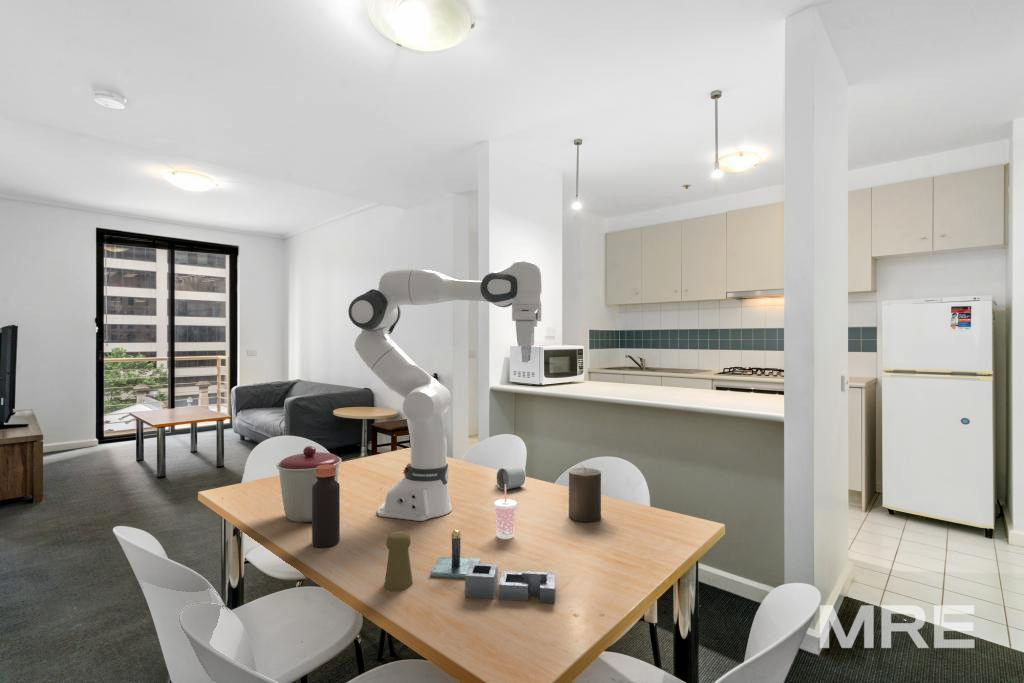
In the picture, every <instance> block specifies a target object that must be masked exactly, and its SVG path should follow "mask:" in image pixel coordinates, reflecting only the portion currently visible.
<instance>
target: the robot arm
mask: <svg viewBox="0 0 1024 683" xmlns="http://www.w3.org/2000/svg"><path fill="white" fill-rule="evenodd" d="M541 273H542V272H541V269H540V267H539V266H538V265H537V264H536V263H535V262H531V261H529V260H516V261H514V262H513V263H512V264H510V265H508V266H507V267H505V268H503V269H499V270H497V271H494V272H490V273H488V274H486V275H485V276H484V277H483V278H482V279H481V280H460V279H456V278H452V277H450V276H447V275H445V274H442V273H440V272H437V271H433V270H429V269H421V268H420V269H419V268H406V269H405V268H403V269H396V270H390V271H387V272H384V273H383V274H382V275H381V277H380V279H379V282H378V289H376V288H375V289H374V288H372V289H369V290H368V291H367V292H365V293H362V294H361V295H359V296H357V297H355V298H354V299H353V300H352V301H351V302H350V303H349V307H348V309H347V311H348V317H349V319H350V321H351V323H352V324H353V325H354V326H356V327H358V328H359V329H361V333H359V334H358V336H357V337H356V339H355V341H354V348H355V351H356V353H357V354H358V356H359V357H360V359H362V361H363V362H364V363H365V364H366V366H367V367H368V368H369V369H370V370H371V372H373V374H375V375H376V376H377V378H379V380H381V382H383V384H384V385H385V386H386V387H388V389H390V390H391V391H393V392H395V393H397V394H398V395H400V396H401V397H403V398H404V400H403V403H402V411H403V415H404V416H405V418H406V423H407V428H408V433H409V441H410V462H409V463H408V464H406V466H405V467H404V469H403V470H402V471H403V472H402V473H403V475H404V477H402V479H400V480H398V482H396V483H395V484H394V485H393V486H391V487H390V488H389V489H388V491H387V493H386V496H385V501H384V502H383V503H382V504H381V505H380V506H379V507H378V508H377V516H379V517H385V518H393V519H400V520H409V521H418V522H419V521H420V522H422V521H426V520H428V519H431V518H432V519H433V518H438V517H441V516H445V515H447V514H449V513H450V512H451V511H452V510H453V507H452V504H451V500H450V494H449V489H448V483H449V464H448V462H447V458H448V457H447V456H448V454H447V450H448V449H447V448H448V447H447V444H448V442H447V441H448V440H447V439H448V438H447V436H446V432H445V429H444V422H443V415H445V414H446V413H447V412H448V410H449V409H450V407H451V404H452V394H451V392H450V390H449V389H448V388H447V387H446V386H444V385H443V384H441V383H440V382H439V381H438V379H436V378H434V376H432V375H431V374H429V373H428V372H427V371H425V370H424V369H423V368H421V367H420V366H419V365H418V364H417V363H416V362H414V360H413V359H411V357H409V356H408V355H407V354H406V353H405V352H404V350H402V348H401V347H400V346H399V345H398V344H397V343H395V341H394V340H392V338H391V336H390V335H391V334H392V333H393V331H394V329H395V327H396V325H397V324H398V323H399V321H400V319H401V315H402V314H401V309H400V306H403V305H405V306H407V305H409V306H410V305H411V306H427V305H433V304H439V303H445V302H451V301H452V302H453V301H475V302H476V301H478V302H479V301H480V302H481V301H482V302H488V303H490V304H492V305H495V306H496V307H500V308H508V307H511V321H512V322H515V333H516V342H517V346H518V347H520V348H521V349H520V351H521V362H522V363H528V362H530V361H531V358H532V357H531V353H532V347H534V344H535V328H537V327H538V322H542V302H541V294H542V274H541Z"/></svg>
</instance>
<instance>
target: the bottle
mask: <svg viewBox="0 0 1024 683" xmlns="http://www.w3.org/2000/svg"><path fill="white" fill-rule="evenodd" d="M335 474H336V466H335V465H332V464H326V465H320V466H317V467H316V478H317V482H316V483H315V484H314V485H313V486H312V522H311V544H312V546H313V547H314V548H319V549H321V548H322V549H323V548H324V549H325V548H329V547H330V548H331V547H333V546H336V545H338V543H340V538H341V537H340V533H341V532H340V527H341V526H340V522H341V521H340V519H341V518H340V516H341V514H340V511H341V509H340V507H341V506H340V505H341V504H340V500H341V499H340V496H341V495H340V492H341V490H340V489H341V488H340V486H341V485H340V483H339V482H338V480H337V481H336V480H335V479H334V477H335V476H336V475H335Z"/></svg>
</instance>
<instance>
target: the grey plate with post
mask: <svg viewBox="0 0 1024 683" xmlns="http://www.w3.org/2000/svg"><path fill="white" fill-rule="evenodd" d="M450 536H451V556H439V557H437V558H438V559H437V560H436V561H435V563H434V565H433V567H432V569H431V570H430V572H429V573H430V574H429V575H430V578H431V577H433V578H435V577H436V578H450V579H452V578H453V579H465V575H466V572H467V570H468V567H469V565H470V563H481V558H479V557H478V558H476V557H475V558H474V557H472V558H471V557H461V536H462V533H461V531H460V530H458V529H453V531H452V532H451V535H450Z"/></svg>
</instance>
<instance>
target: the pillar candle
mask: <svg viewBox="0 0 1024 683" xmlns="http://www.w3.org/2000/svg"><path fill="white" fill-rule="evenodd" d="M568 517H569V518H570V519H571V520H573V521H576V522H582V523H594V522H598V521H600V520H601V518H602V472H601V471H600V470H599V469H596V468H591V467H590V468H589V467H576V468H571V469H568Z"/></svg>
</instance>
